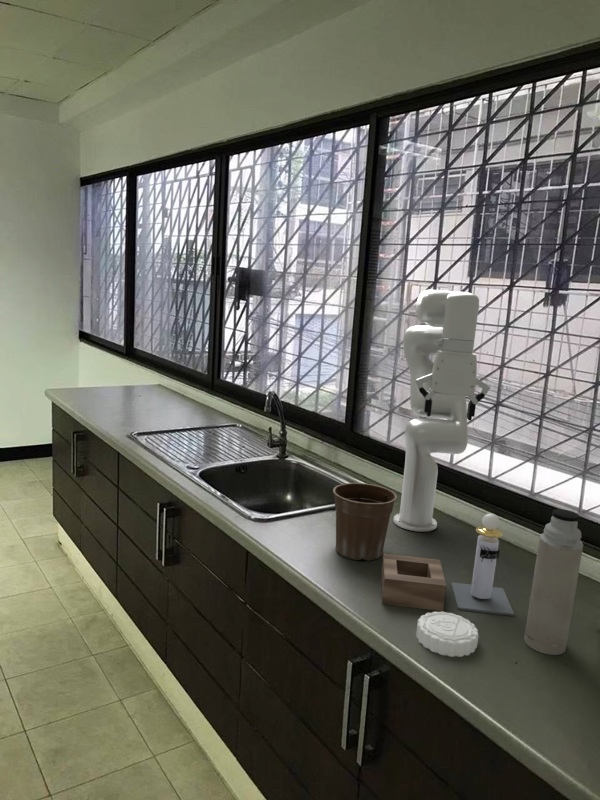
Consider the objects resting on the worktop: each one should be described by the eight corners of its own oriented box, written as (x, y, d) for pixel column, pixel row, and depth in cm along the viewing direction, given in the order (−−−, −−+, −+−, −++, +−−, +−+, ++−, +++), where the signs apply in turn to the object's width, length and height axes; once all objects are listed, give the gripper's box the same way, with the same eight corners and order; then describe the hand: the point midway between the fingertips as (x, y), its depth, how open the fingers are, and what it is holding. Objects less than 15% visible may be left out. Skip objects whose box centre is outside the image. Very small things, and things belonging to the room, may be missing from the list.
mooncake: (421, 619, 138) (423, 603, 137) (479, 633, 134) (481, 617, 133) (410, 647, 127) (412, 631, 126) (473, 664, 123) (475, 647, 122)
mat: (451, 584, 154) (451, 582, 154) (502, 590, 153) (503, 588, 153) (457, 609, 143) (458, 607, 142) (513, 616, 142) (514, 613, 141)
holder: (380, 576, 155) (383, 553, 154) (436, 583, 154) (439, 559, 153) (382, 603, 142) (384, 578, 141) (442, 611, 141) (446, 585, 140)
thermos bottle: (518, 631, 135) (537, 504, 130) (555, 633, 135) (576, 506, 130) (532, 654, 127) (554, 518, 122) (572, 656, 128) (595, 521, 122)
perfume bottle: (464, 590, 151) (475, 508, 147) (488, 591, 151) (500, 509, 147) (471, 602, 145) (482, 518, 141) (497, 604, 145) (509, 519, 141)
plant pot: (345, 533, 180) (350, 478, 177) (400, 549, 172) (406, 491, 169) (316, 553, 166) (321, 492, 163) (374, 571, 158) (380, 508, 155)
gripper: (421, 344, 150) (413, 417, 153) (497, 351, 148) (488, 424, 152) (418, 341, 157) (411, 410, 161) (491, 347, 156) (482, 417, 159)
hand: (448, 417), depth 156 cm, fingers open, 9 cm apart
